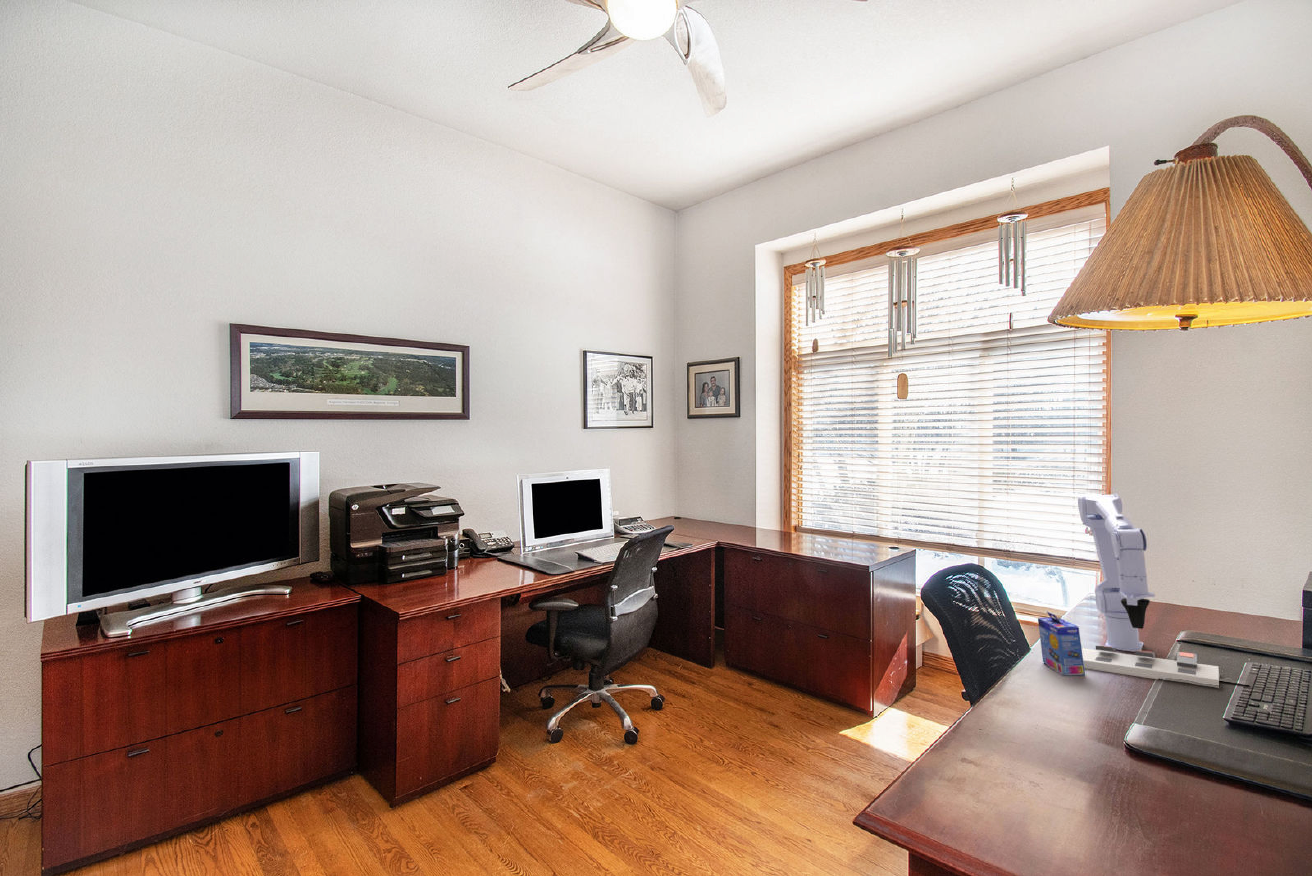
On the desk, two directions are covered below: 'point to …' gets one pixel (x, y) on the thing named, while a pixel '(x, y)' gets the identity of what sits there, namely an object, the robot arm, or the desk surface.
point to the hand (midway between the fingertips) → (1138, 627)
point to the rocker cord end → (1187, 659)
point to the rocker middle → (1144, 653)
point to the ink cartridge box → (1061, 645)
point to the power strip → (1148, 667)
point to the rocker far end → (1106, 648)
